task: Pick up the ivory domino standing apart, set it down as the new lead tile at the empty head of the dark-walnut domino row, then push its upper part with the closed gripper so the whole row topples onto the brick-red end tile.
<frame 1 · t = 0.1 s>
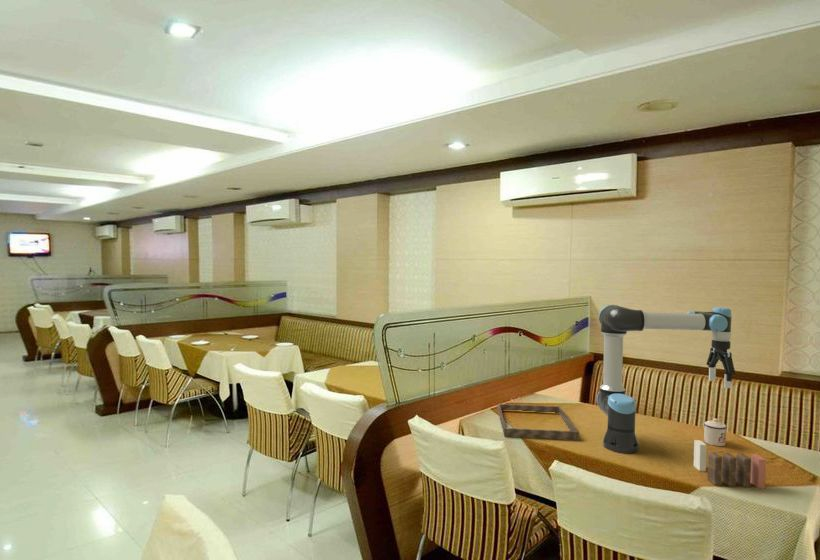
hand: (719, 384, 225), 28 cm above the table, fingers open, 13 cm apart
domino 4: (742, 484, 182), on the table
domino 2: (714, 482, 183), on the table
serving frame: (534, 424, 249), on the table
domino 3: (728, 483, 182), on the table
teacup with lid: (715, 442, 226), on the table
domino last: (757, 485, 181), on the table
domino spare: (699, 468, 195), on the table
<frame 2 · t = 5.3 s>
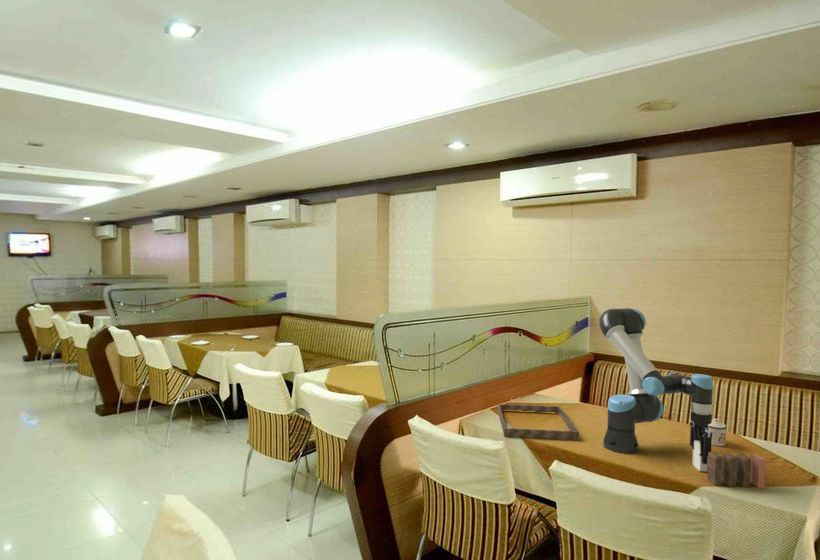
hand: (699, 467, 195), 0 cm above the table, fingers closed on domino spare, 5 cm apart
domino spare: (699, 468, 195), on the table, touching gripper
everything else where it was.
when the fingers open (1 cm above the table, at t = 11.5 s): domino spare stays where it is, on the table.
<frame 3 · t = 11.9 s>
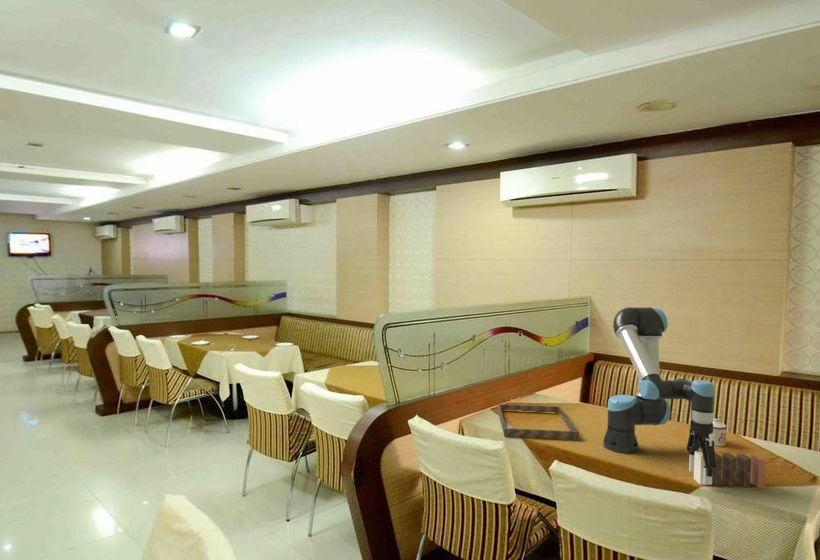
hand: (700, 477, 183), 2 cm above the table, fingers open, 10 cm apart
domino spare: (700, 481, 183), on the table
everything else where it was.
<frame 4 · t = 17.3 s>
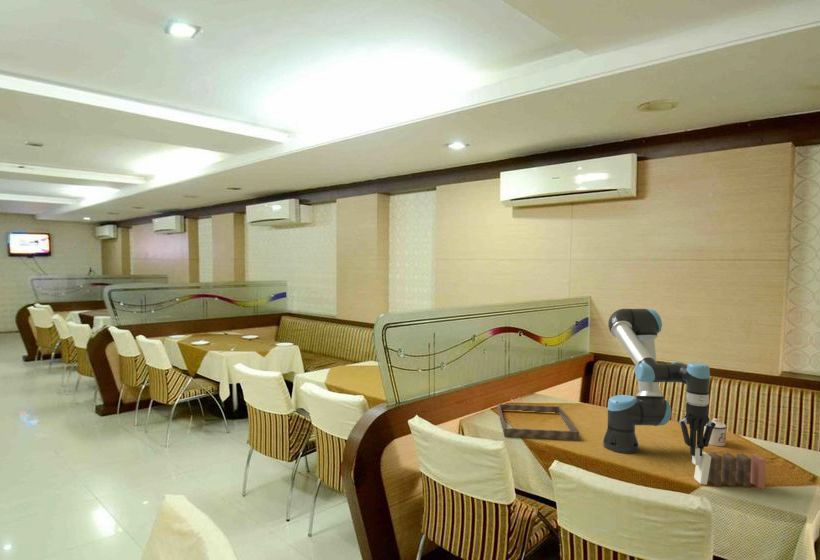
hand: (695, 463, 183), 7 cm above the table, fingers closed
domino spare: (700, 481, 183), on the table, tilted 7°
everything else where it was.
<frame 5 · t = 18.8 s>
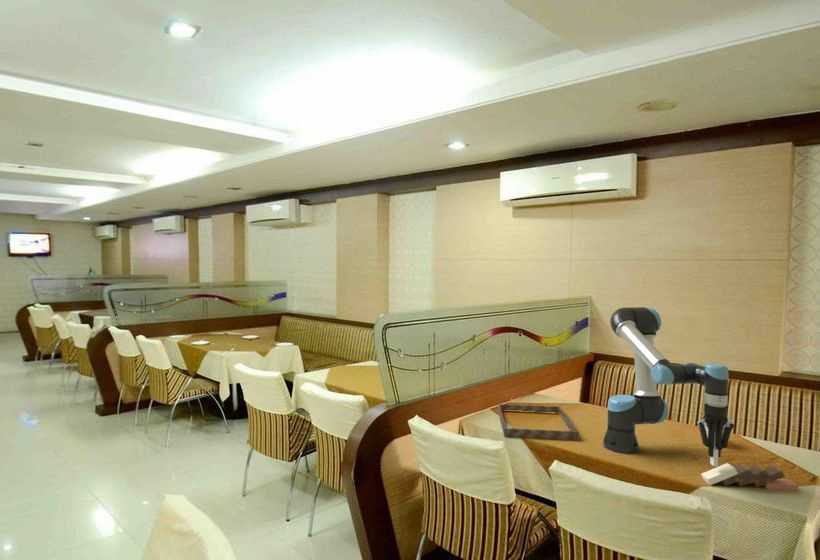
hand: (714, 464, 182), 7 cm above the table, fingers closed
domino 4: (751, 481, 181), point 1 cm above the table, tilted 63°, touching domino 3, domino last
domino 2: (720, 480, 182), point 1 cm above the table, tilted 64°, touching domino 3
domino 3: (735, 481, 182), point 1 cm above the table, tilted 64°, touching domino 2, domino 4
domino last: (762, 483, 181), point 1 cm above the table, tilted 90°, touching domino 4
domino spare: (705, 479, 183), point 1 cm above the table, tilted 64°
everything else where it was.
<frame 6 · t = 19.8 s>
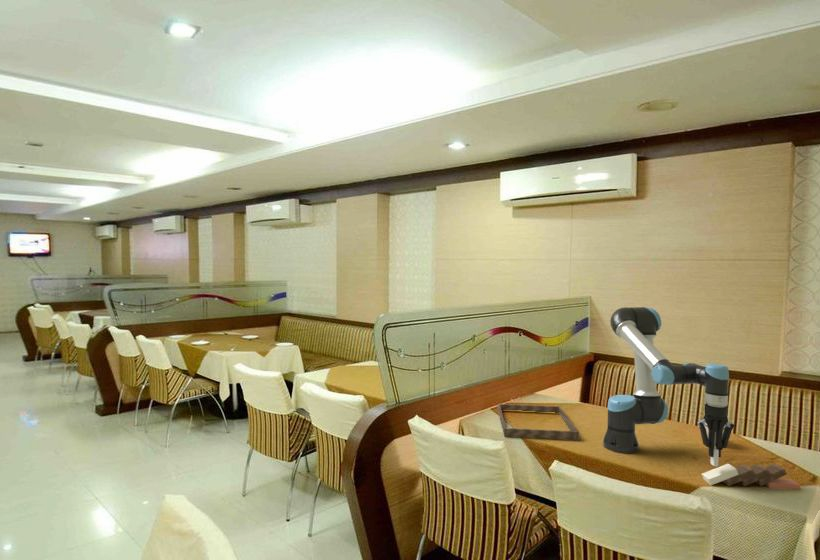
hand: (714, 464, 182), 7 cm above the table, fingers closed
domino 4: (754, 480, 182), point 1 cm above the table, tilted 66°, touching domino 3, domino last
domino 2: (722, 480, 182), point 1 cm above the table, tilted 66°, touching domino 3, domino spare
domino 3: (738, 480, 182), point 1 cm above the table, tilted 65°, touching domino 2, domino 4
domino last: (765, 483, 181), point 1 cm above the table, tilted 90°, touching domino 4
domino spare: (706, 479, 183), point 1 cm above the table, tilted 66°, touching domino 2
everything else where it was.
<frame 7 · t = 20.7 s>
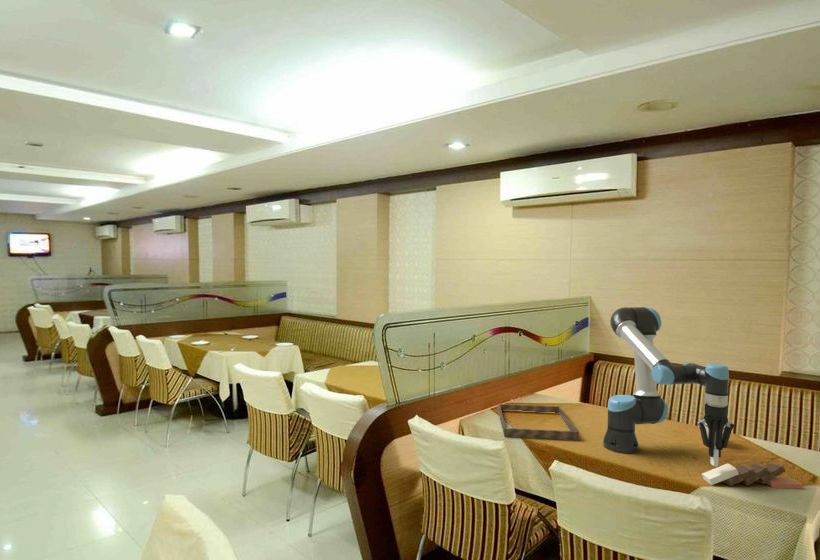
hand: (714, 464, 182), 7 cm above the table, fingers closed
domino 4: (756, 479, 183), point 1 cm above the table, tilted 68°, touching domino 3
domino 2: (724, 480, 182), point 1 cm above the table, tilted 66°, touching domino 3, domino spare
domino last: (767, 482, 182), on the table, tilted 90°
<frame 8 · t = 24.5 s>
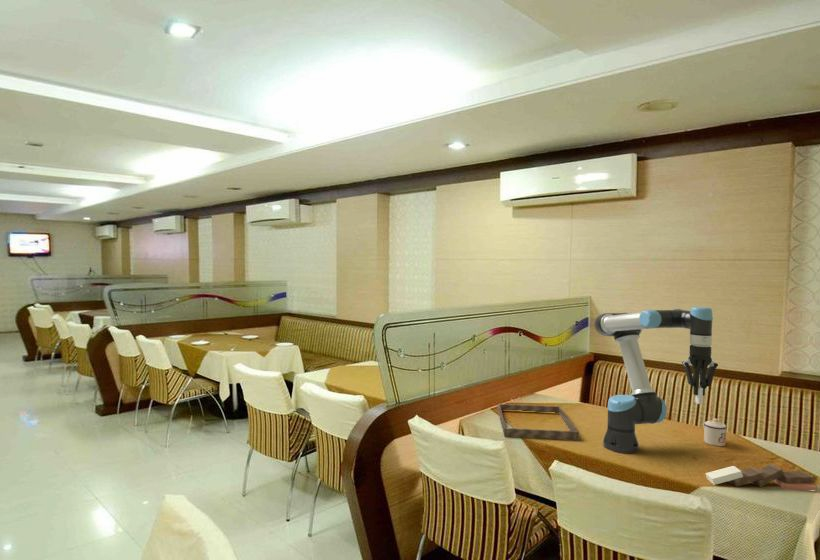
hand: (698, 403, 191), 28 cm above the table, fingers closed
domino 4: (780, 477, 181), point 3 cm above the table, tilted 90°, touching domino 3, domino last
domino 2: (731, 481, 182), point 1 cm above the table, tilted 71°, touching domino 3, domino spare
domino 3: (753, 481, 181), point 1 cm above the table, tilted 66°, touching domino 2, domino 4
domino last: (778, 483, 181), point 1 cm above the table, tilted 90°, touching domino 4
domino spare: (709, 479, 183), point 1 cm above the table, tilted 71°, touching domino 2
everything else where it was.
at the end: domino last tilted 90°; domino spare inside the target area (0.5 cm from its centre), point 1.2 cm above the table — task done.
